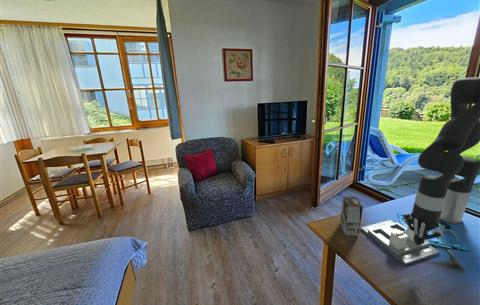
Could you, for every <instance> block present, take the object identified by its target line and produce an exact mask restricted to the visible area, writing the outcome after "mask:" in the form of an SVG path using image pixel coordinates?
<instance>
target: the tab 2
mask: <svg viewBox="0 0 480 305" xmlns="http://www.w3.org/2000/svg"><path fill="white" fill-rule="evenodd" d="M412 226H413V225H412ZM406 228H407V232H406V235H407V236H408V239H409V240H410V241H412V242H413V243H415V242H414V239H413V238H414V231H413V230H410V228H409V226H408V225H407V227H406ZM415 244H416V243H415Z"/></svg>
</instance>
